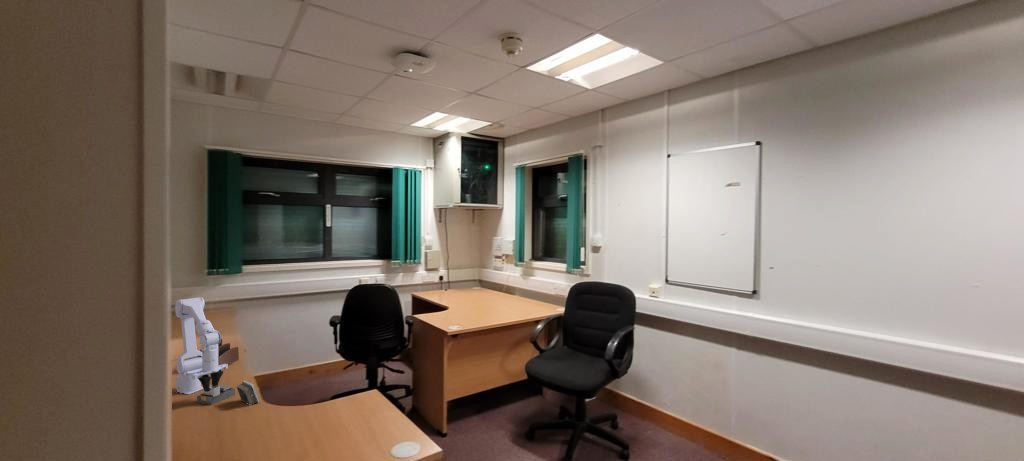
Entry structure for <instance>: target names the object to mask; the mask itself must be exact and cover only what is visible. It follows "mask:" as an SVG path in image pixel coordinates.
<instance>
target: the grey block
mask: <svg viewBox="0 0 1024 461" xmlns="http://www.w3.org/2000/svg"><path fill="white" fill-rule="evenodd" d="M202 392H203V396H207V397H214V396H216V395H219V394H220V386H215V385H212V384H210V388H209V391H208V392H206V391H204V388H203V389H202Z"/></svg>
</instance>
